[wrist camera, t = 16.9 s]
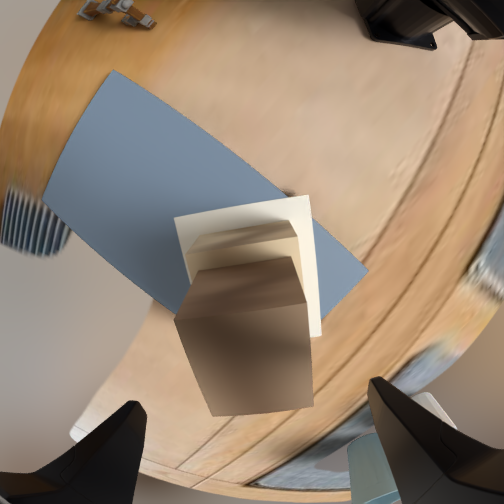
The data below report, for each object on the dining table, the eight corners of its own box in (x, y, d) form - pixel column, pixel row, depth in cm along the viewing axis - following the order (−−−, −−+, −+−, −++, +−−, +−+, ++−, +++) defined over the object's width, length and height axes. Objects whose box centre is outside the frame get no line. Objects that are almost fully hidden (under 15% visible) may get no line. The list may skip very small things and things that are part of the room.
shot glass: (420, 419, 27) (437, 454, 20) (381, 426, 27) (396, 467, 20) (444, 385, 25) (467, 421, 18) (404, 391, 25) (426, 435, 18)
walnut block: (291, 256, 14) (307, 302, 10) (301, 346, 16) (313, 406, 11) (198, 270, 15) (173, 320, 10) (222, 356, 17) (212, 416, 12)
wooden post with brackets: (154, 36, 14) (112, 8, 10) (108, 31, 16) (75, 13, 12) (168, 18, 13) (130, -12, 9) (120, 16, 15) (87, -3, 11)
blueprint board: (44, 207, 19) (37, 209, 18) (127, 62, 15) (121, 58, 14) (265, 375, 23) (265, 382, 22) (381, 264, 20) (386, 269, 19)
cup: (330, 458, 29) (342, 516, 19) (352, 430, 27) (371, 497, 17) (375, 453, 30) (391, 505, 20) (399, 424, 27) (423, 482, 17)
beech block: (289, 220, 18) (297, 236, 14) (301, 323, 20) (309, 356, 16) (199, 235, 18) (184, 254, 14) (224, 334, 21) (218, 368, 17)
